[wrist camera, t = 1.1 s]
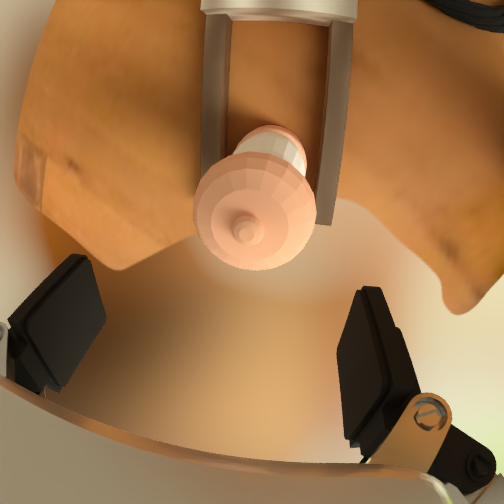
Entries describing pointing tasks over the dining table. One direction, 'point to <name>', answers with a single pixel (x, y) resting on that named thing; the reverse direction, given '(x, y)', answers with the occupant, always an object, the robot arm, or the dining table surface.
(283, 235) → the pepper shaker
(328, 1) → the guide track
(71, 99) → the dining table surface
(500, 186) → the dining table surface
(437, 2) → the cable lock
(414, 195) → the dining table surface
